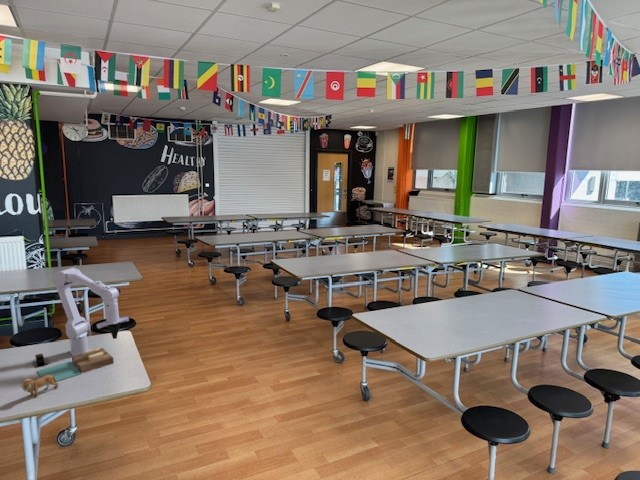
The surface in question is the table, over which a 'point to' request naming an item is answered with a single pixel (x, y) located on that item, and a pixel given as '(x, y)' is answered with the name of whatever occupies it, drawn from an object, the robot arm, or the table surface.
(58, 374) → the teal mat
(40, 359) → the black slotted bracket
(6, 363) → the table surface
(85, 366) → the walnut board
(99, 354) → the beech tile
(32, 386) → the lion figurine
